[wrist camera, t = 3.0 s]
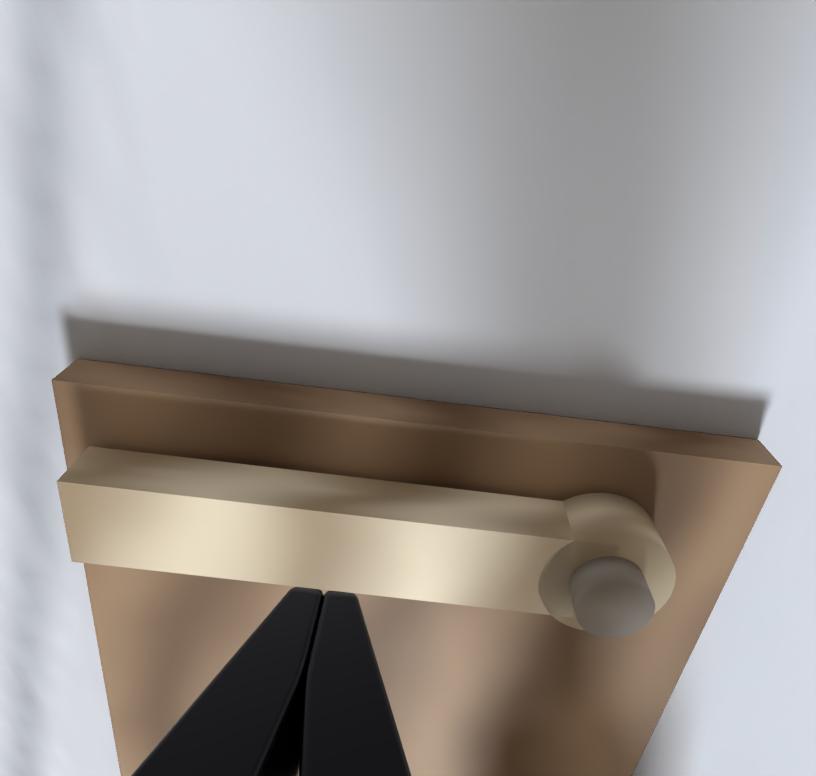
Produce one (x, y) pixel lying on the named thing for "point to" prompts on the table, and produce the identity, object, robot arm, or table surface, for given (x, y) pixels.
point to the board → (413, 619)
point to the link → (370, 537)
